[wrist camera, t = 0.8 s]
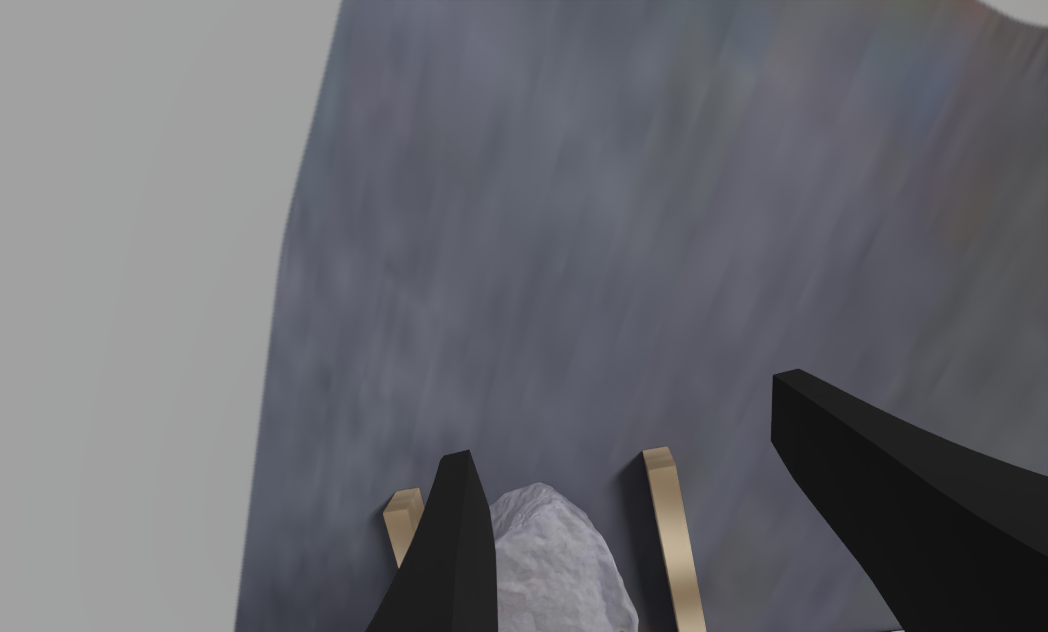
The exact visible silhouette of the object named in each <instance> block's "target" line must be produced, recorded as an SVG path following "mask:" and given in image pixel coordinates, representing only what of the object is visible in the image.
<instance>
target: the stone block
mask: <svg viewBox="0 0 1048 632" xmlns="http://www.w3.org/2000/svg"><path fill="white" fill-rule="evenodd" d="M489 509H490V513H491V520H492V527H493V534H494V542H495V549H496V567H497V600H498V632H638V622H639V619H638V615H637V612H636V610H635V608H634V606H633V604H632V602H631V600H630V598H629V596H628V594H627V591H626V589H625V587H624V583H623V579H622V577H621V576H620V574H619V572H618V571H617V567H616V565H615V562H614V558H613V556H612V555H611V553H610V551H609V549H608V547H607V544H606V542H605V540H604V539H603V537H602V536H601V535H600V533H599V532H598V531H597V530H596V529H595V528H594V526H593V524H592V522H591V521H590V520H589V519H588V516H587V515H586V513H585V512H583V511H582V510H581V509H579V508H578V507H577V506H575V505H574V504H572V503H571V502H570V501H569V500H567V499H566V498H565V497H564V496H562V495H561V494H559V493H558V492H557V491H556V490H555V489H554V488H553V487H551V486H549V485H546V484H544V483H541V482H538V483H534V484H531V485H529V486H527V487H523V488H520V489H517V490H512V491H511V492H508V493H505V494H503V496H502V497H501V498H499V499H498V500H497V501H496V502H495V503H493V504H492V505H490V506H489Z"/></svg>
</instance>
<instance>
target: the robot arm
mask: <svg viewBox="0 0 1048 632" xmlns="http://www.w3.org/2000/svg"><path fill="white" fill-rule="evenodd" d="M771 442H772V443H773V445H774V447H775V449H776V450H777V452H778V454H779V456H780V457H781V459H782V461H783V462H784V464H785V466H786V467H787V469H788V471H789V472H790V474H791V475H792V477H793V479H794V480H795V481H796V483H797V484H798V485H799V487H800V488H801V489H802V491H803V492H804V493H805V494H806V496H807V497H808V498H809V500H810V501H811V502H812V504H813V505H814V506H815V507H816V509H817V510H818V511H819V513H820V514H821V515H822V516H823V518H824V519H825V520H826V521H827V523H828V524H829V525H830V527H831V528H832V529H833V530H834V532H835V533H836V534H837V535H838V537H839V538H840V539H841V541H842V542H843V543H844V544H845V546H846V547H847V548H848V549H849V551H850V552H851V553H852V555H853V556H854V557H855V558H856V560H857V561H858V562H859V564H860V565H861V566H862V568H863V569H864V570H865V572H866V573H867V575H868V576H869V577H870V579H871V580H872V581H873V583H874V584H875V586H876V588H877V589H878V591H879V592H880V594H881V595H882V597H883V598H884V600H885V602H886V603H887V605H888V606H889V608H890V609H891V611H892V612H893V614H894V616H895V617H896V619H897V620H898V622H899V623H900V625H901V626H902V628H903V630H902V631H893V632H1048V476H1045V475H1041V474H1038V473H1035V472H1032V471H1029V470H1026V469H1023V468H1020V467H1017V466H1014V465H1011V464H1009V463H1006V462H1003V461H1000V460H998V459H995V458H992V457H990V456H987V455H984V454H981V453H979V452H976V451H973V450H971V449H968V448H966V447H963V446H961V445H958V444H956V443H953V442H951V441H948V440H946V439H944V438H942V437H939V436H937V435H935V434H932V433H930V432H928V431H925V430H923V429H921V428H918V427H916V426H914V425H912V424H910V423H908V422H905V421H903V420H901V419H899V418H897V417H895V416H893V415H891V414H888V413H886V412H884V411H882V410H880V409H878V408H876V407H874V406H872V405H870V404H868V403H866V402H864V401H862V400H860V399H858V398H856V397H854V396H852V395H850V394H848V393H846V392H844V391H842V390H840V389H838V388H837V387H835V386H833V385H831V384H829V383H827V382H825V381H823V380H821V379H819V378H817V377H815V376H813V375H811V374H809V373H807V372H805V371H803V370H800V369H795V370H791V371H787V372H783V373H779V374H775V375H773V389H772V422H771ZM365 632H498V600H497V567H496V549H495V542H494V534H493V527H492V520H491V513H490V509H489V506H488V503H487V500H486V497H485V494H484V491H483V488H482V485H481V482H480V479H479V476H478V473H477V470H476V468H475V465H474V462H473V459H472V456H471V453H470V450H466V451H462V452H457V453H453V454H449V455H445V456H443V457H442V459H441V460H440V463H439V467H438V470H437V474H436V477H435V480H434V483H433V486H432V489H431V492H430V495H429V498H428V501H427V503H426V506H425V509H424V511H423V514H422V516H421V519H420V521H419V524H418V527H417V529H416V532H415V534H414V537H413V539H412V541H411V544H410V546H409V548H408V550H407V552H406V554H405V557H404V559H403V561H402V563H401V565H400V567H399V570H398V572H397V574H396V576H395V578H394V580H393V582H392V584H391V586H390V588H389V590H388V592H387V594H386V596H385V597H384V599H383V601H382V603H381V605H380V607H379V608H378V610H377V612H376V614H375V616H374V617H373V619H372V621H371V623H370V624H369V626H368V627H367V629H366V631H365Z"/></svg>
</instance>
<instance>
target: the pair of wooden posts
mask: <svg viewBox="0 0 1048 632" xmlns="http://www.w3.org/2000/svg"><path fill="white" fill-rule="evenodd" d="M643 456H644V461H645V467H646V472H647V477H648V482H649V487H650V492H651V497H652V502H653V508H654V513H655V518H656V523H657V528H658V533H659V538H660V544H661V549H662V554H663V559H664V564H665V569H666V574H667V579H668V585H669V590H670V595H671V600H672V605H673V610H674V615H675V620H676V626H677V631H678V632H706V627H705V622H704V616H703V611H702V606H701V600H700V595H699V589H698V584H697V579H696V573H695V568H694V562H693V557H692V551H691V546H690V541H689V535H688V530H687V524H686V519H685V514H684V508H683V503H682V497H681V492H680V487H679V481H678V476H677V470H676V465H675V463H674V461H673V458H672V456H671V453H670V451H669V448H668V447H661V448H655V449H649V450H643ZM424 509H425V508H424V505H423V501H422V497H421V493H420V490H419V488H414V489H408V490H402V491H396V493H395V494H394V496H393V498H392V499H391V501H390V502H389V504H388V506H387V507H386V509H385V510H384V512H383V516H384V519H385V523H386V526H387V530H388V533H389V536H390V540H391V543H392V547H393V550H394V554H395V557H396V561H397V564H398V568H399V567H400V565H401V563H402V561H403V559H404V557H405V554H406V552H407V550H408V548H409V546H410V544H411V541H412V539H413V537H414V534H415V532H416V529H417V527H418V524H419V521H420V519H421V516H422V514H423V511H424Z"/></svg>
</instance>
